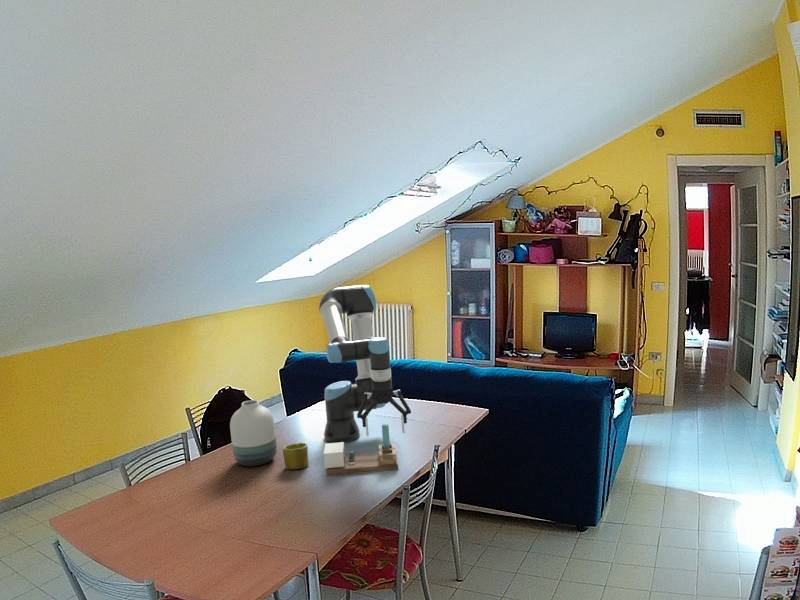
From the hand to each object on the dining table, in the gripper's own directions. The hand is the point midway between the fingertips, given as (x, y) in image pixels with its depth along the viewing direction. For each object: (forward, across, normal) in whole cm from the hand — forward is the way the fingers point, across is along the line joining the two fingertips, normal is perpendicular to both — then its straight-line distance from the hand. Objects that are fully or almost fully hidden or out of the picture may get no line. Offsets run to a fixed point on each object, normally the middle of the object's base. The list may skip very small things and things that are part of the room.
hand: (385, 433), depth 233 cm
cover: (+8, -20, -3) cm, 22 cm away
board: (+11, -9, -3) cm, 15 cm away
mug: (+11, -34, +4) cm, 36 cm away
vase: (+11, -52, +11) cm, 54 cm away
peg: (+9, 0, 0) cm, 9 cm away
